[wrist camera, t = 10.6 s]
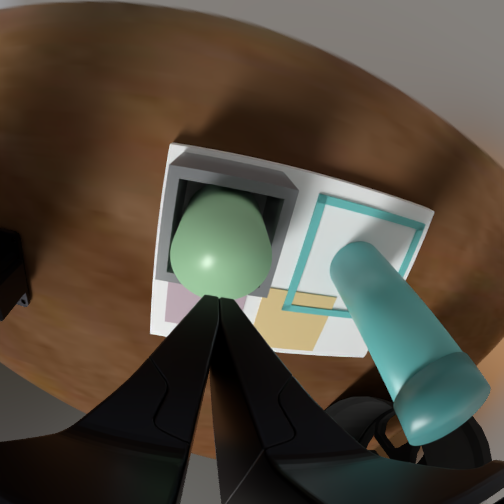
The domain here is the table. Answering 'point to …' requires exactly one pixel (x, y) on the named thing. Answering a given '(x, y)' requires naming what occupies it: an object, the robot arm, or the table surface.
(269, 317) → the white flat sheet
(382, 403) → the car wheel rim
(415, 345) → the teal round-topped cylinder
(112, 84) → the table surface
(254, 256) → the button
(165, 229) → the button housing
